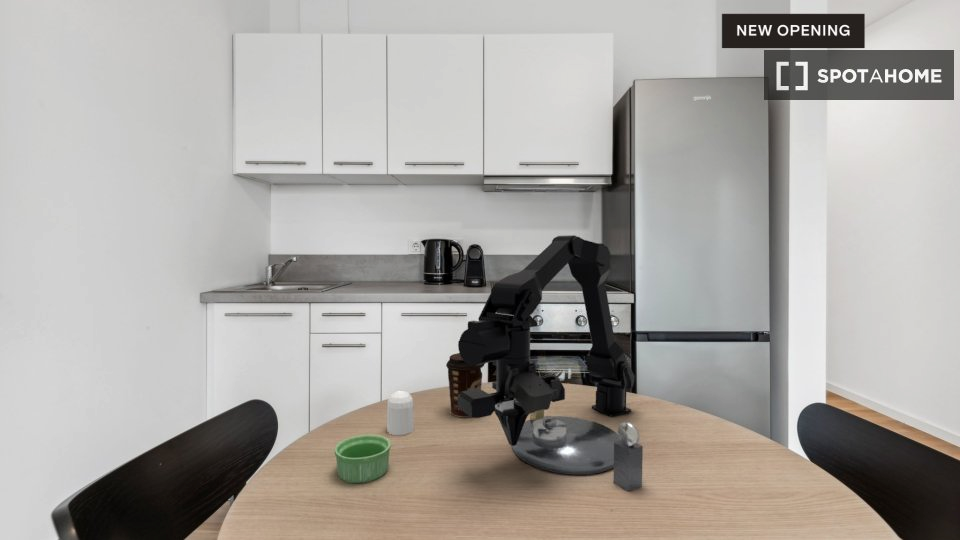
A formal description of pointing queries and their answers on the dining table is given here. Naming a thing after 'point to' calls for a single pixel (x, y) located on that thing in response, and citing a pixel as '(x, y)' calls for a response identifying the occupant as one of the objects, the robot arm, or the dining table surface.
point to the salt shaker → (400, 413)
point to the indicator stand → (628, 458)
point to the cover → (549, 432)
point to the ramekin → (362, 458)
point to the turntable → (570, 447)
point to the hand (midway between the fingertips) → (512, 444)
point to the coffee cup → (461, 380)
